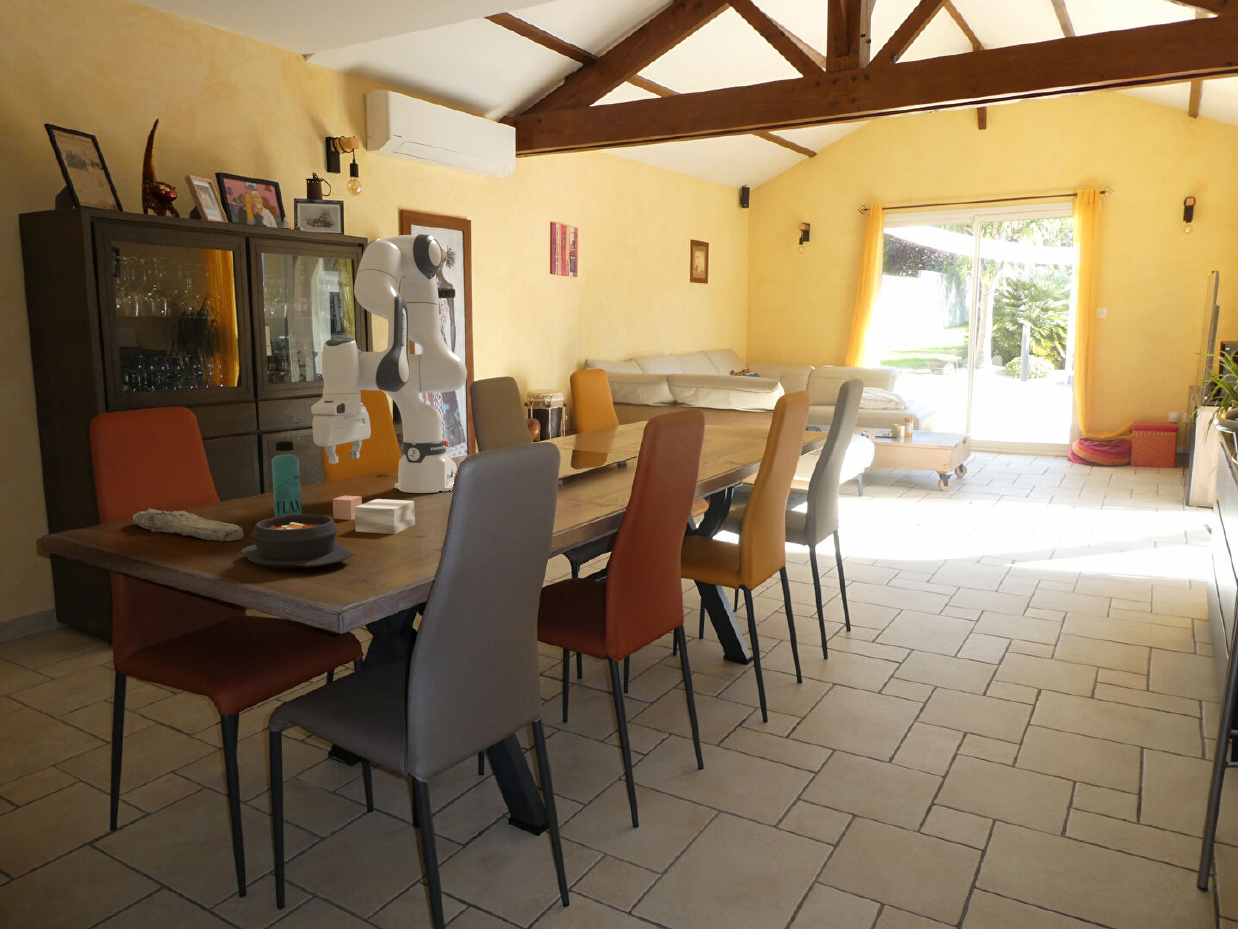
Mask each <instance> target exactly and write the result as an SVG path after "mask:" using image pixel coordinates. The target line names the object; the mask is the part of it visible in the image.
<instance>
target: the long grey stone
mask: <svg viewBox="0 0 1238 929" xmlns="http://www.w3.org/2000/svg"><path fill="white" fill-rule="evenodd" d="M132 519H133V524H134V525H137V526H139V527H140V528H143V529H144V530H145V529H146V530H149V531H151V532H152V533H153V532H157V533H167V534H175V533H176V534H179V535H182V536H185V537H186V536H188V537H189V536H190V537H194V538H198V539H202V540H206V541H218V542H219V541H221V542H232V541H238V540H241V539H243V538H244V535H245V534H244V529H243V528H241V526H239V525H237V524H235V523H227V522H224V521H219V520H212V519H206V518H205V517H204V518H203V517H202V516H198V515H196V514H195V513H192V512H190V513H189V512H186V511H185V510H179V511H177V510H173V511H167V510H157V509H153V508H148V509H146V511H138V512H136V513H134V514H133V515H132Z"/></svg>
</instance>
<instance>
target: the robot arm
mask: <svg viewBox="0 0 1238 929" xmlns="http://www.w3.org/2000/svg"><path fill="white" fill-rule="evenodd" d="M362 252H363V253H362V258H361V260H360V262H359V265H358V269H357V273H356V277H355V282H354V288H353V289H354V292H353V293H354V296H355V299H356V300H357V302H358V304H359V305H360V306H361V307H362V308H363V309H364V310H366V311H367V312H368V313H371V314H372V315H375V316H377V317H379V318H383V319H385V320H387V323H388V327H387V346H386V347H387V348H386V349H385V350H383V351H362V350H361V349H358V347H357V346H358V345H357V342H356V339H354V338H351V337H337V338H332V339H328V340H326V341H325V342H324V343H323V345H322V346H323V347H322V350H321V351H322V353H321V376H322V377H321V378H322V379H323V389H322V397H321V398H320V399H319V400H318V401H317V402H316V403H314V404H313V405H311V406H310V407H311V408H310V411H311V414H312V415H314V416H313V418H312V423H311V424H312V439H313V443H314V444H315V446H317V447H324V450H325V453H326V455H327V457H328V463H329V464H331V465H335V464H338V463H339V462H340V461H339V455H337V453H336V450H337V446H338V445H343V444H347V443H348V444H349V443H351V445H352V448H351V451H350V452H349V455H350V456H349V457H350V459H351V460H357V459H360V455H361V454H360V452H361V448H362V447H363V446H362V445H363V441H364V440H368V439H370V437H371V435H372V431H371V430H372V428H371V421H370V415H369V412H368V411H367V407H366V406H365V405H364V403H363V402H362V394H361V390H363V391H382V392H384V393H386V394H387V395H388V396H389V397H390V398H391V400H393V402H394V403H395V404H396V406H397V408H398V410H399V413H400V418H401V424H402V437H403V440H402V441H401V454H402V457H401V458H400V459H399V460H398V472H397V473H398V474H397V475H398V476H397V483H395V484H394V488H395V489H398V490H399V491H400V492H402V493H409V494H410V493H411V494H428V493H429V494H430V493H431V494H432V493H440V492H439V491H442V492H453V491H452V487H453V484H454V476H455V473H456V471H457V472H458V467H457V464H456V462H454V460H453V459H452V458H451V457H450V456H449V455H448V454H447V453H446V452H447V449H446V448H448V447H449V446H450V443H449V442H450V441H449V440H448V439H443V419H442V418H443V417H442V414H441V413H440V411H439V410H438V409H437V408H435V407H434V406H431V405H430V404H427V403H425V402H423V401H422V400H421V399H420V397H419V395H420V394H423V393H424V394H425V393H426V394H427V393H428V394H429V393H431V394H433V393H435V394H436V393H437V394H438V393H440V394H442V393H448V392H454V391H459V390H461V389H462V387H463V386H464V385H465V384H466V381H467V376H468V371H467V366H466V364H465V362H464V361H463V359H461V357H459V355H457V354H455V353H454V352H453V351H452V349H450V348H449V346H448V345H447V343H446V341H445V339H444V337H443V334H442V333H443V332H442V331H441V330H442V328H441V320H440V302H439V290H438V284H437V279H436V273H437V272H438V270H439V268H440V267H441V264H442V261H443V254H442V252H443V251H442V247H441V246H440V243H439V241H438V240H437V239H436V238H435V237H434V236H433V235H430V234H423V233H420V234H403V235H402V234H401V235H397V236H390V237H387V238H377V239H374V240H372V241H370V242H368V243H367V244H366V245H365V248H363V250H362ZM409 341H411V342H412V343H415V344H417V345H419V346H420V347H421V348H422V349H423V352H422V353H420V354H416V353H415V354H414V353H413V354H411V353H410V354H408V353H409V349H408V347H409V346H408V345H409ZM449 490H450V491H449Z"/></svg>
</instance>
